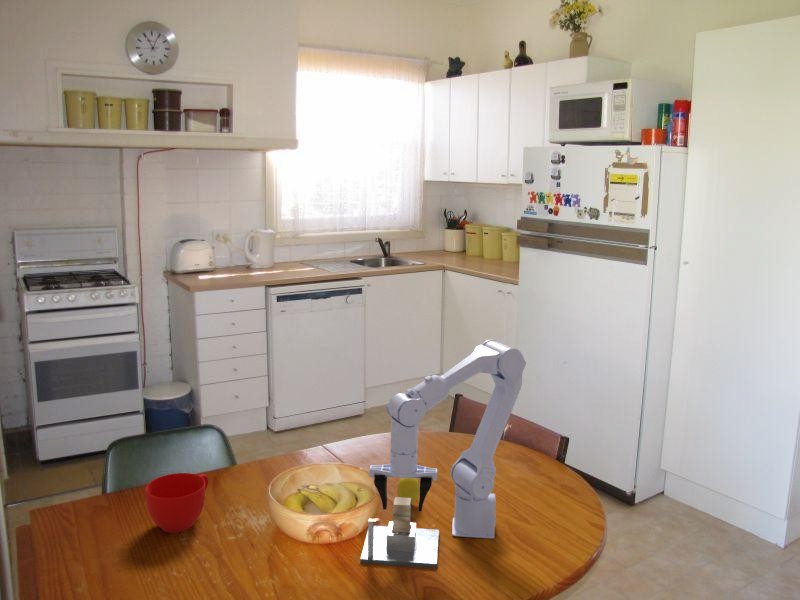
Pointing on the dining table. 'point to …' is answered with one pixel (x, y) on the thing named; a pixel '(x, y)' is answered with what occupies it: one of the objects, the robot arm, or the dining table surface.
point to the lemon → (408, 488)
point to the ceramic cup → (176, 500)
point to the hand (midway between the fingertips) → (402, 508)
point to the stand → (400, 546)
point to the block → (401, 514)
